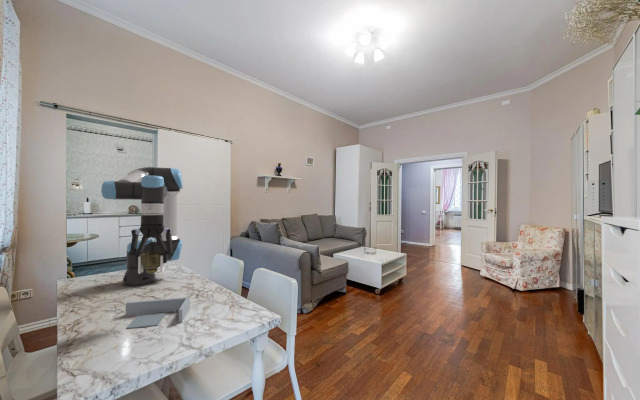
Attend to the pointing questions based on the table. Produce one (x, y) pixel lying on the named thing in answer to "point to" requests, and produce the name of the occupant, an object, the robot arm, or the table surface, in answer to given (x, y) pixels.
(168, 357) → the table surface
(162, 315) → the mat
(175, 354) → the table surface
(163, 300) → the fence
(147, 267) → the cup
